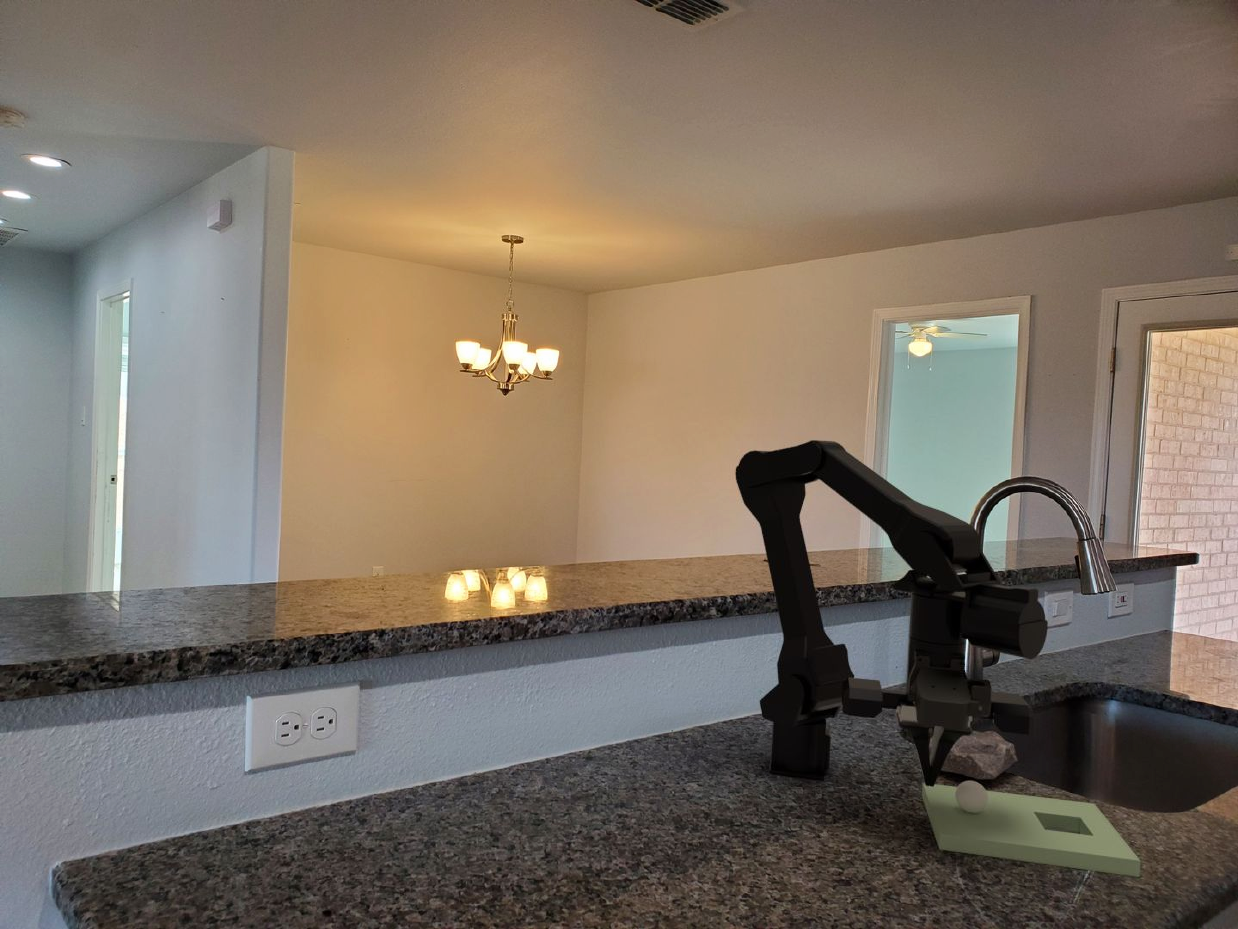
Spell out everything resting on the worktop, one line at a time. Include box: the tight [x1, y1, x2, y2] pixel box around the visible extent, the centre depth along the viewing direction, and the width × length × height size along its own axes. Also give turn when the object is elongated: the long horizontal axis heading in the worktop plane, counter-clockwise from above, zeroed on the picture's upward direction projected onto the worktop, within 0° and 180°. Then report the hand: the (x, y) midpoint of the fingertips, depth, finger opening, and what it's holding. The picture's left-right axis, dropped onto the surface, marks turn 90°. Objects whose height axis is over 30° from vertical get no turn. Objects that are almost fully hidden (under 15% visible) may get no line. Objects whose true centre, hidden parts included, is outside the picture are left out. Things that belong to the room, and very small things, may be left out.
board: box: [921, 782, 1141, 878], centre depth 94 cm, size 18×14×2 cm
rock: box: [929, 730, 1019, 780], centre depth 111 cm, size 8×11×5 cm
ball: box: [955, 780, 988, 813], centre depth 95 cm, size 3×3×3 cm
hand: (929, 785), depth 96 cm, fingers closed
